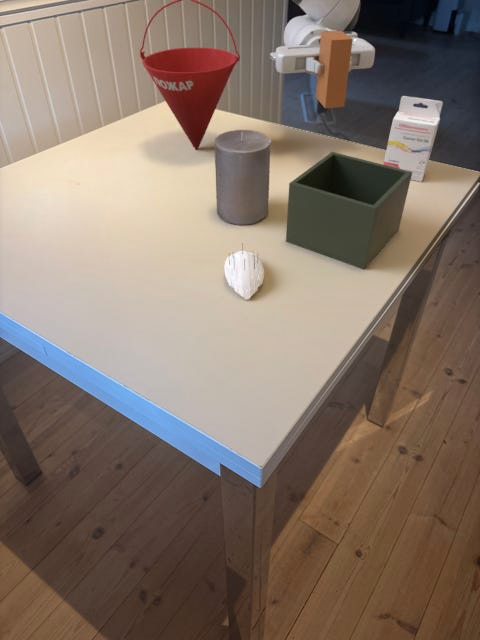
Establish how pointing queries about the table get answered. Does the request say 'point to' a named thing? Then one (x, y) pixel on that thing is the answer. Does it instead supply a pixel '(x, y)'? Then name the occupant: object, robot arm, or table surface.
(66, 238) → the table surface
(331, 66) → the orange rectangular block
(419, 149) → the ink cartridge box
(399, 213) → the waste bin
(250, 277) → the pincushion
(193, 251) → the table surface
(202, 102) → the fire bucket
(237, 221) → the pillar candle
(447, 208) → the table surface
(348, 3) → the robot arm
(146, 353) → the table surface
